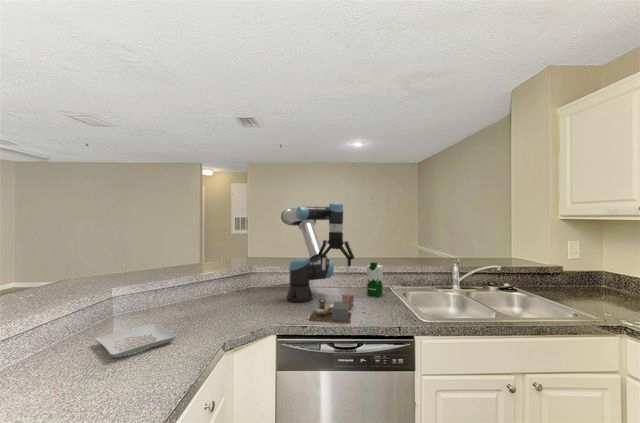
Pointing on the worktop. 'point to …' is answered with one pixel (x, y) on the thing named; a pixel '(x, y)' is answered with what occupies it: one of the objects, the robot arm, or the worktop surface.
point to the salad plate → (154, 329)
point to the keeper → (333, 313)
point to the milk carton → (374, 279)
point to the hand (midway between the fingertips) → (335, 271)
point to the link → (329, 308)
